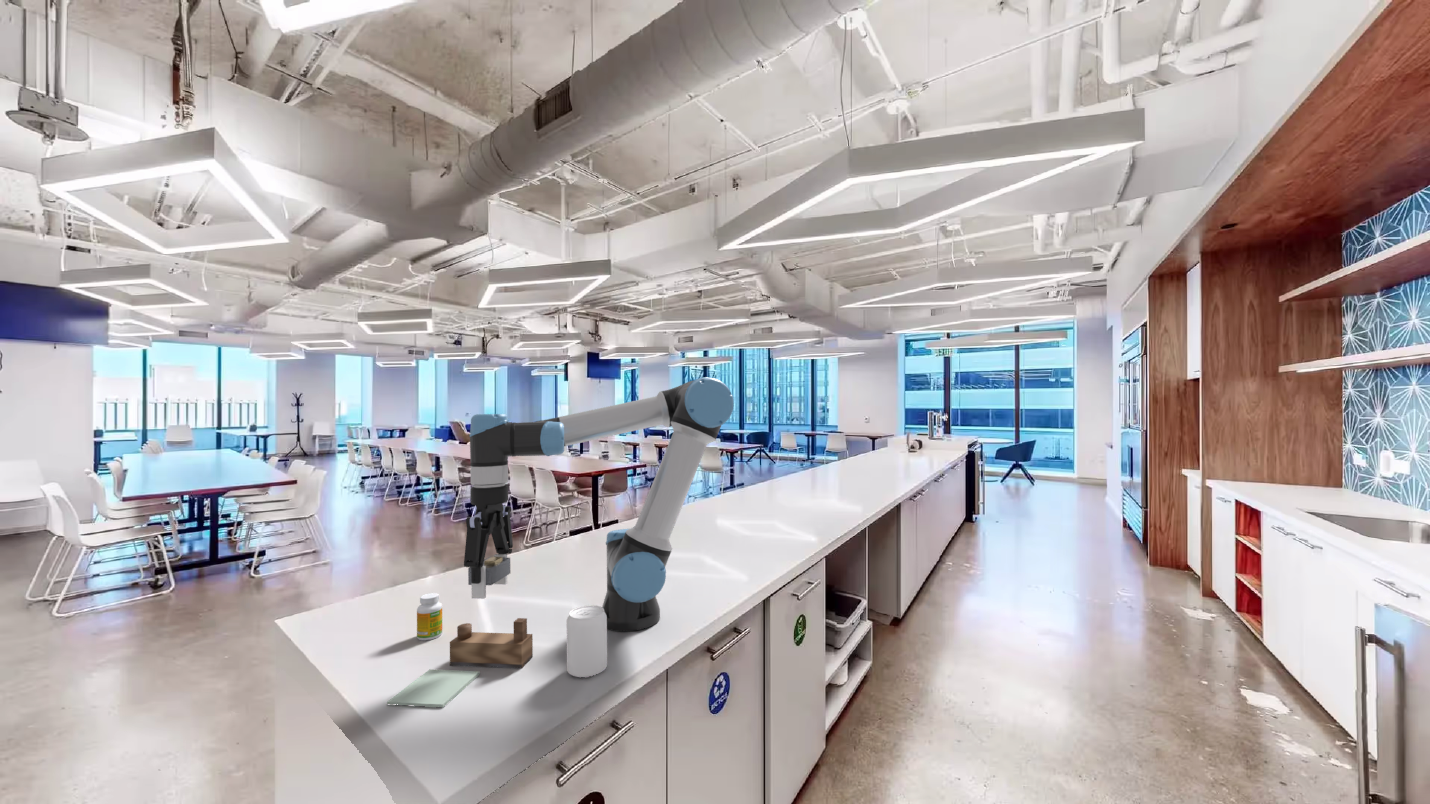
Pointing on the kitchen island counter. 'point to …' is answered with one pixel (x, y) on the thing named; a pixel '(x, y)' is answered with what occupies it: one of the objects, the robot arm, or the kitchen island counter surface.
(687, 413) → the robot arm
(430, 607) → the supplement bottle
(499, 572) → the dark grey rectangular block
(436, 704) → the mat
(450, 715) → the kitchen island counter surface
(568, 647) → the beverage can
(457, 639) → the hand plane
